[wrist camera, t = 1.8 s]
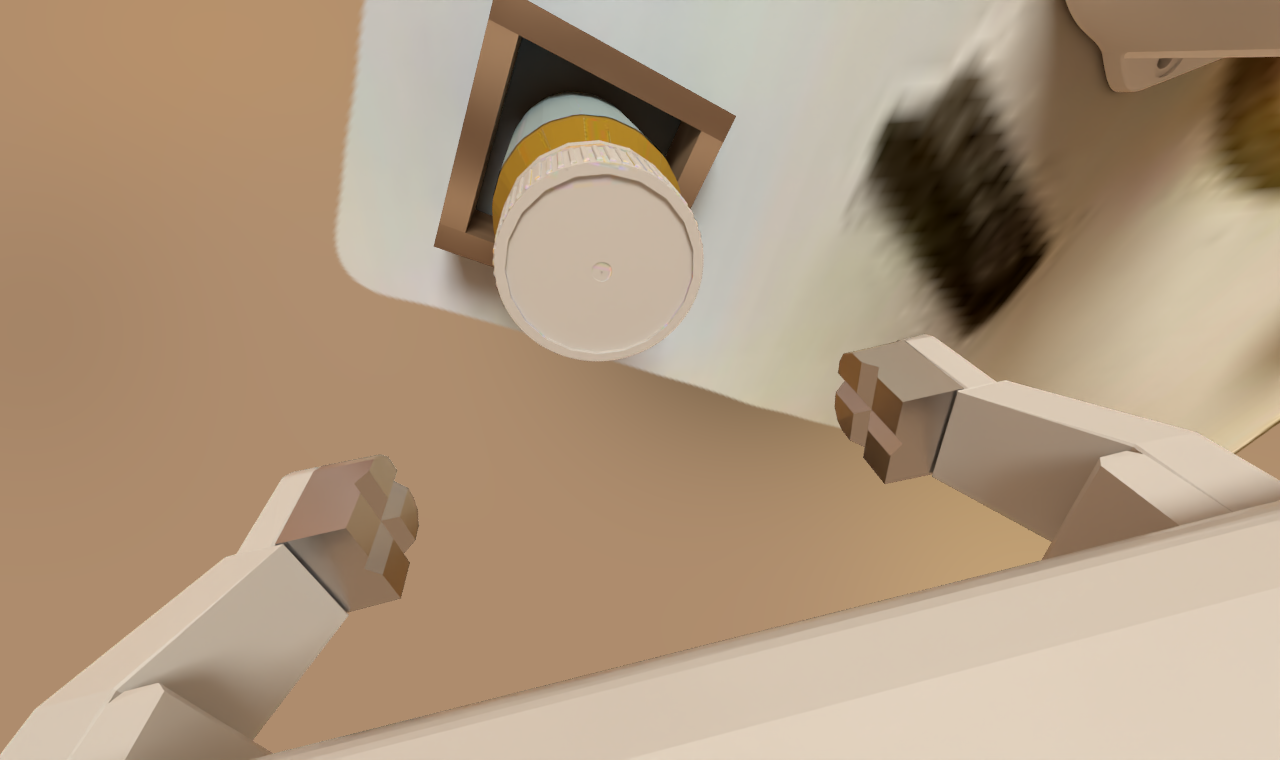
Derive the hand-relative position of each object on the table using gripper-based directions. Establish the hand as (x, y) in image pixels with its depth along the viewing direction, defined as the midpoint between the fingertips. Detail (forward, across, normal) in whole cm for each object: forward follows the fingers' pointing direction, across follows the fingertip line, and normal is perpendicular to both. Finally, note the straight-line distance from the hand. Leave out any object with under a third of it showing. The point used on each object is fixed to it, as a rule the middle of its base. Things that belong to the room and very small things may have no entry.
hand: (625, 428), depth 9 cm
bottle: (+22, -1, 0) cm, 22 cm away
